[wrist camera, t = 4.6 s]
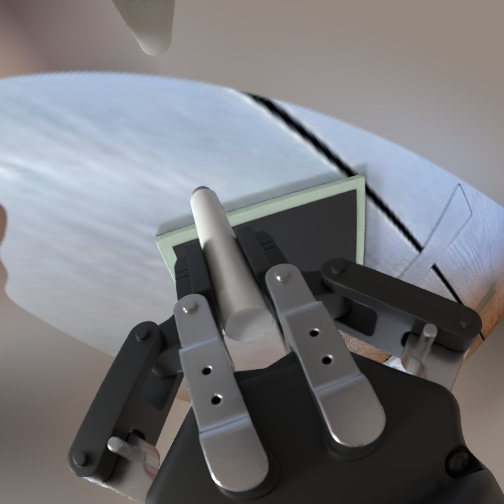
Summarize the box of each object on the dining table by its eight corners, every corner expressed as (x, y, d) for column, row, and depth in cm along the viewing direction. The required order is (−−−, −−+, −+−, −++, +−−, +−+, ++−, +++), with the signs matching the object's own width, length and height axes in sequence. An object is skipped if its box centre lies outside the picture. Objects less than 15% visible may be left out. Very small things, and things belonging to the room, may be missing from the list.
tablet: (155, 236, 27) (155, 241, 26) (360, 173, 30) (365, 176, 29) (203, 336, 37) (204, 342, 36) (358, 279, 39) (362, 283, 38)
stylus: (185, 188, 19) (218, 318, 9) (211, 179, 19) (270, 300, 9) (193, 210, 20) (231, 347, 10) (217, 202, 20) (276, 332, 10)
